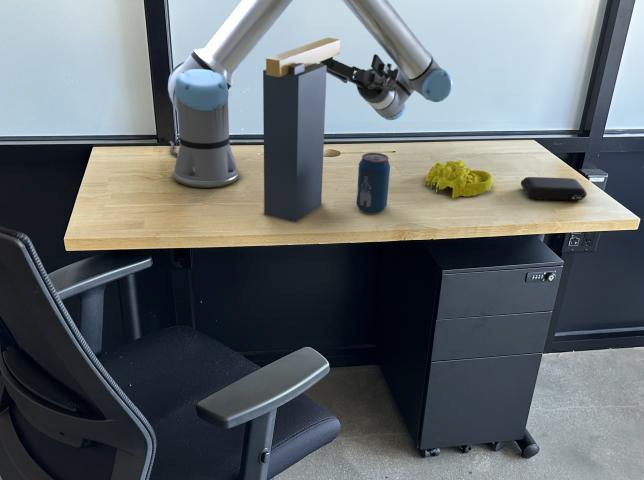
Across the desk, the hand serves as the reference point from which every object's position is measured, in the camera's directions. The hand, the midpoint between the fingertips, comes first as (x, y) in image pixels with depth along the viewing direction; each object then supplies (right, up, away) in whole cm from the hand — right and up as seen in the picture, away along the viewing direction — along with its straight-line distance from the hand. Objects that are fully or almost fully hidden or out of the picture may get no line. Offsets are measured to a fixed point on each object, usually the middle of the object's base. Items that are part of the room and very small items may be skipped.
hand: (346, 56), depth 167 cm
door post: (-12, -35, -1) cm, 37 cm away
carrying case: (+51, -28, +14) cm, 60 cm away
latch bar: (-9, -8, -16) cm, 20 cm away
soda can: (+6, -35, +1) cm, 35 cm away
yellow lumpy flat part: (+28, -25, +17) cm, 41 cm away
